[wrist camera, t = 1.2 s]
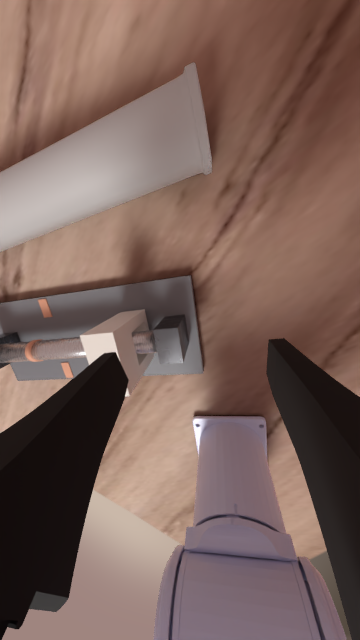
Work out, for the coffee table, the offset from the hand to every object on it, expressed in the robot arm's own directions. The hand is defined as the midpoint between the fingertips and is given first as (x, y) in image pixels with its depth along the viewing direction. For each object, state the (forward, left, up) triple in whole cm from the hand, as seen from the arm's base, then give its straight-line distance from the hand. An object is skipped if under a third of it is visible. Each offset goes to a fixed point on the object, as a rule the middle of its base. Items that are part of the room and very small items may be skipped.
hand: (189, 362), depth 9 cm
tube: (+12, +11, -11) cm, 19 cm away
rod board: (-2, +13, -10) cm, 16 cm away
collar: (-2, +7, -9) cm, 11 cm away
